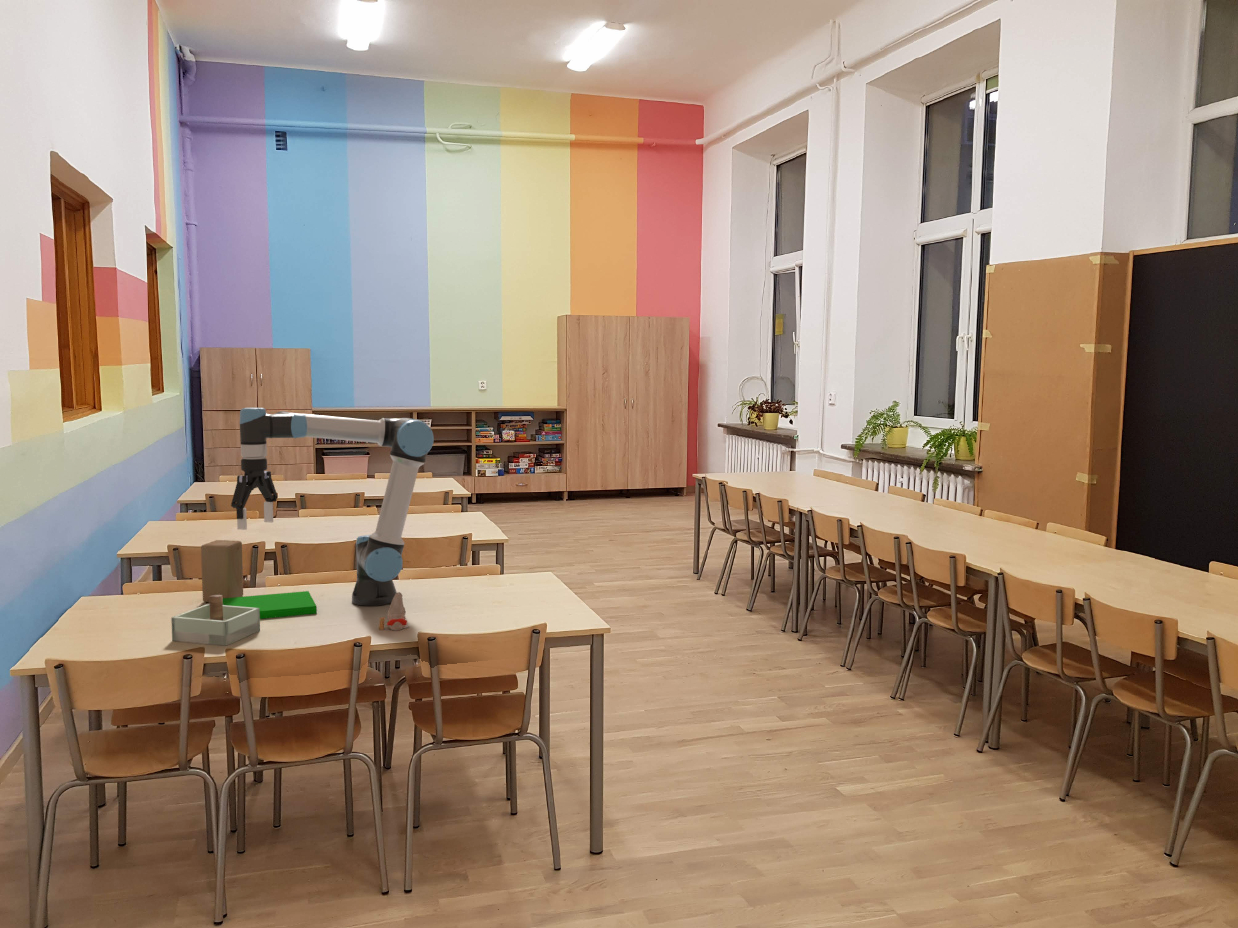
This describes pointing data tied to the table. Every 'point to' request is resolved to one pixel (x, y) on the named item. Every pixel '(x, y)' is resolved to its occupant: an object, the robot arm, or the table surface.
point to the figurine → (395, 614)
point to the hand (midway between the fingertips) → (255, 525)
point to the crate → (215, 625)
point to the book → (277, 604)
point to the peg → (216, 607)
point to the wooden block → (222, 569)
